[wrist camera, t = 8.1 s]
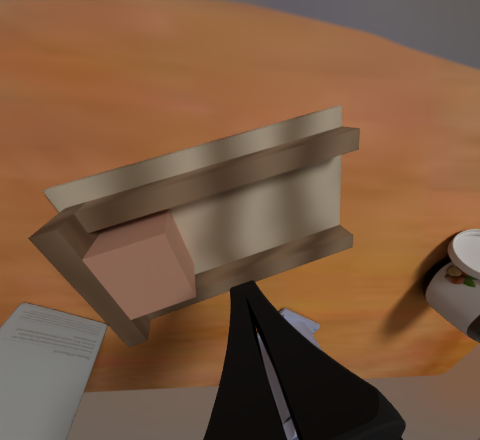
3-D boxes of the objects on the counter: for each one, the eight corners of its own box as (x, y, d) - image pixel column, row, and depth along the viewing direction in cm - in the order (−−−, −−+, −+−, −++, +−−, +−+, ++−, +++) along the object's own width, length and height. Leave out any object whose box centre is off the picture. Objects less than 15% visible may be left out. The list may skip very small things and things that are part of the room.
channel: (336, 105, 16) (385, 104, 12) (335, 244, 23) (366, 271, 19) (47, 187, 14) (-5, 217, 10) (141, 312, 21) (131, 358, 17)
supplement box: (22, 298, 18) (-240, 603, 7) (110, 323, 21) (32, 551, 10) (-13, 351, 19) (-269, 666, 8) (75, 365, 23) (-25, 602, 12)
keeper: (168, 207, 16) (164, 233, 13) (194, 263, 19) (196, 296, 16) (104, 227, 16) (81, 259, 12) (140, 281, 19) (130, 319, 15)
